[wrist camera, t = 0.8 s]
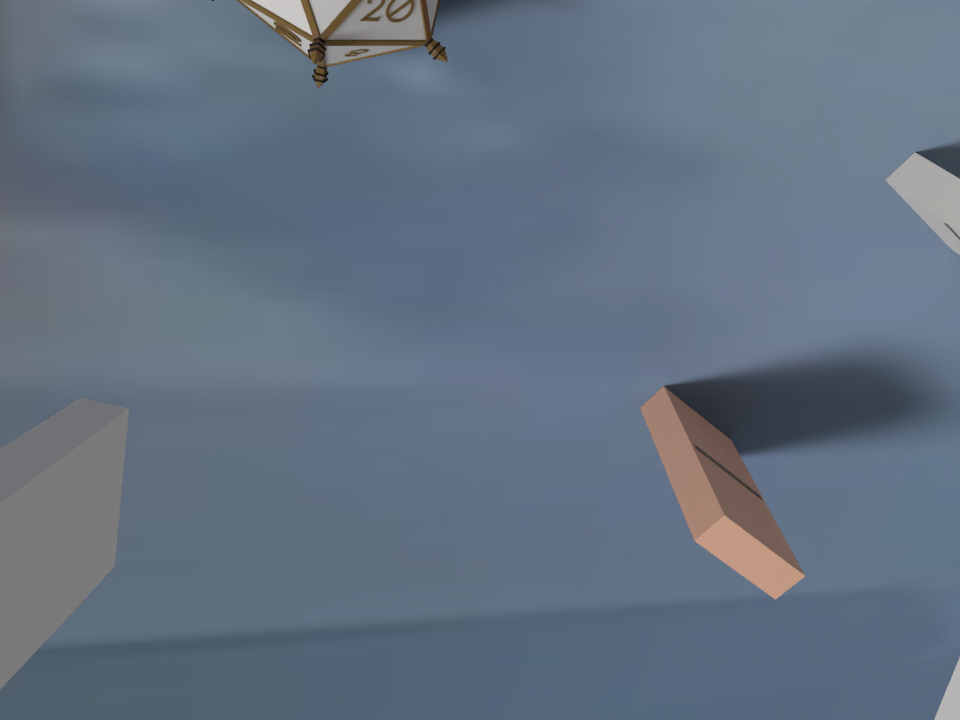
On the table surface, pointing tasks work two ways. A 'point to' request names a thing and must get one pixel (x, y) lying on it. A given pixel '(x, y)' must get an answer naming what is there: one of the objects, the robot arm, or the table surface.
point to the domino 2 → (931, 196)
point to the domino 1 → (719, 495)
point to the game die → (350, 28)
